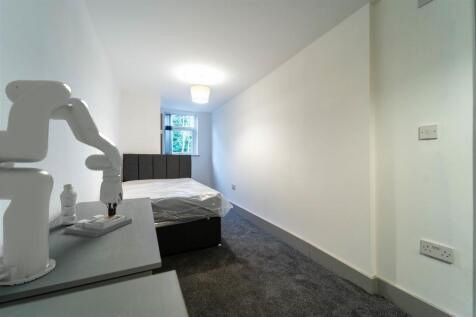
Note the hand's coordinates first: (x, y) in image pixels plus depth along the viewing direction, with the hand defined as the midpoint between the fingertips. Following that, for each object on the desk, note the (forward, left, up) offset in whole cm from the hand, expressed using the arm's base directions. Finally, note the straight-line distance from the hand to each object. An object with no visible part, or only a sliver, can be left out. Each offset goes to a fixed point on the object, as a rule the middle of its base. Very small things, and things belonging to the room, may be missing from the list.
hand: (112, 215), depth 101 cm
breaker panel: (-4, +3, -5) cm, 7 cm away
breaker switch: (-4, 0, -1) cm, 4 cm away
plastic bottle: (-6, +21, -5) cm, 22 cm away
